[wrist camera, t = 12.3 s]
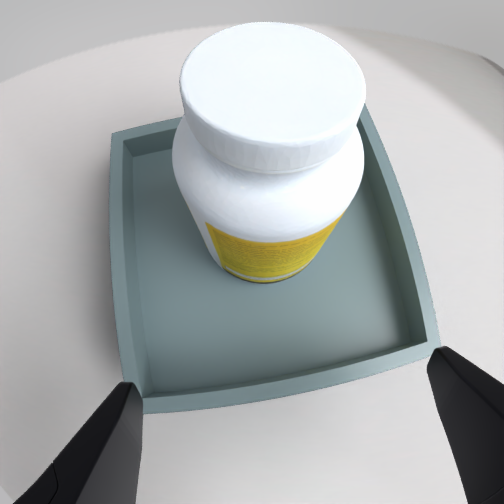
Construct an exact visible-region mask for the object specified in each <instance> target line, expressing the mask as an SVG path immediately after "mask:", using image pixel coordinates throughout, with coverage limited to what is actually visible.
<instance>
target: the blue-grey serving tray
mask: <svg viewBox="0 0 504 504" xmlns="http://www.w3.org/2000/svg"><path fill="white" fill-rule="evenodd" d="M181 119H182V117H180V118H175V119H170V120H165V121H161V122H156V123H152V124H147V125H143V126H139V127H135V128H131V129H127V130H123V131H119V132H116V133H112V137H111V154H110V180H109V232H110V259H111V276H112V289H113V301H114V311H115V321H116V330H117V338H118V345H119V353H120V359H121V366H122V372H123V378H124V382H133V383H134V384H135V385H136V387H137V389H138V391H139V393H140V395H141V397H142V400H143V414H155V413H169V412H181V411H192V410H201V409H210V408H218V407H226V406H233V405H240V404H246V403H252V402H258V401H264V400H270V399H275V398H280V397H286V396H291V395H295V394H300V393H305V392H309V391H314V390H318V389H322V388H327V387H331V386H335V385H339V384H342V383H346V382H350V381H354V380H357V379H361V378H365V377H368V376H371V375H375V374H378V373H382V372H385V371H388V370H391V369H394V368H397V367H401V366H404V365H407V364H410V363H412V362H415V361H418V360H421V359H424V358H427V357H429V356H431V355H432V353H433V351H434V349H435V348H438V347H441V342H440V336H439V331H438V325H437V320H436V315H435V310H434V306H433V301H432V297H431V292H430V288H429V284H428V280H427V276H426V272H425V268H424V264H423V260H422V257H421V253H420V249H419V246H418V242H417V239H416V236H415V232H414V229H413V226H412V223H411V220H410V216H409V213H408V210H407V207H406V204H405V201H404V198H403V196H402V193H401V190H400V187H399V184H398V182H397V179H396V176H395V174H394V171H393V168H392V166H391V163H390V161H389V158H388V156H387V153H386V151H385V148H384V146H383V143H382V141H381V139H380V136H379V134H378V132H377V129H376V127H375V125H374V123H373V120H372V118H371V116H370V114H369V112H368V109H367V107H366V105H365V103H364V106H363V108H362V111H361V113H360V116H359V119H358V122H357V124H356V126H357V129H358V131H359V134H360V137H361V140H362V144H363V150H364V170H363V175H362V179H361V182H360V185H359V188H358V190H357V192H356V194H355V196H354V198H353V199H352V201H351V203H350V204H349V206H348V207H347V209H346V211H345V212H344V214H343V215H342V217H341V218H340V220H339V221H338V223H337V224H336V226H335V227H334V229H333V230H332V232H331V233H330V235H329V236H328V238H327V239H326V241H325V242H324V244H323V245H322V247H321V248H320V250H319V251H318V253H317V254H316V256H315V257H314V259H313V260H312V261H311V263H310V264H309V265H308V266H307V267H306V268H305V269H303V270H302V271H301V272H300V273H298V274H297V275H295V276H293V277H292V278H289V279H287V280H284V281H282V282H278V283H272V284H254V283H249V282H245V281H242V280H240V279H238V278H236V277H234V276H232V275H230V274H229V273H227V272H226V271H225V270H223V269H222V268H221V267H220V266H219V265H218V264H217V262H216V261H215V260H214V259H213V257H212V256H211V254H210V252H209V251H208V249H207V246H206V244H205V242H204V239H203V237H202V235H201V233H200V231H199V228H198V226H197V224H196V222H195V220H194V218H193V216H192V214H191V212H190V210H189V208H188V206H187V204H186V202H185V199H184V197H183V195H182V193H181V191H180V188H179V186H178V184H177V181H176V178H175V174H174V170H173V164H172V148H173V141H174V136H175V133H176V130H177V127H178V125H179V123H180V121H181Z"/></svg>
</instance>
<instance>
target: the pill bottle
mask: <svg viewBox="0 0 504 504" xmlns="http://www.w3.org/2000/svg"><path fill="white" fill-rule="evenodd" d="M179 83H180V93H181V97H182V102H183V107H184V112H185V114H184V115H183V117H182V119H181V121H180V123H179V125H178V127H177V130H176V133H175V136H174V141H173V148H172V164H173V170H174V174H175V178H176V181H177V184H178V186H179V188H180V191H181V193H182V195H183V197H184V199H185V202H186V204H187V206H188V208H189V210H190V212H191V214H192V216H193V218H194V220H195V222H196V224H197V226H198V228H199V231H200V233H201V235H202V237H203V239H204V242H205V244H206V246H207V249H208V251H209V252H210V254H211V256H212V257H213V259H214V260H215V261H216V262H217V264H218V265H219V266H220V267H221V268H222V269H223V270H225V271H226V272H227V273H229V274H230V275H232V276H234V277H236V278H238V279H240V280H242V281H245V282H249V283H254V284H272V283H278V282H282V281H284V280H287V279H289V278H292V277H293V276H295V275H297V274H298V273H300V272H301V271H302V270H303V269H305V268H306V267H307V266H308V265H309V264H310V263H311V261H312V260H313V259H314V257H315V256H316V254H317V253H318V251H319V250H320V248H321V247H322V245H323V244H324V242H325V241H326V239H327V238H328V236H329V235H330V233H331V232H332V230H333V229H334V227H335V226H336V224H337V223H338V221H339V220H340V218H341V217H342V215H343V214H344V212H345V211H346V209H347V207H348V206H349V204H350V203H351V201H352V199H353V198H354V196H355V194H356V192H357V190H358V188H359V185H360V182H361V179H362V175H363V170H364V150H363V144H362V140H361V137H360V134H359V131H358V129H357V126H356V124H357V122H358V119H359V116H360V113H361V111H362V108H363V106H364V101H365V96H366V84H365V80H364V76H363V74H362V71H361V69H360V68H359V66H358V64H357V62H356V61H355V59H354V58H353V57H352V56H351V55H350V54H349V53H348V52H347V51H346V50H345V49H344V48H343V47H342V46H341V45H339V44H338V43H336V42H335V41H333V40H332V39H330V38H328V37H326V36H324V35H322V34H320V33H318V32H316V31H314V30H311V29H308V28H305V27H302V26H297V25H293V24H287V23H278V22H254V23H246V24H241V25H237V26H233V27H230V28H227V29H224V30H222V31H219V32H217V33H215V34H213V35H211V36H209V37H208V38H206V39H205V40H203V41H202V42H200V43H199V44H198V45H197V46H196V47H195V48H194V49H193V50H192V51H191V52H190V54H189V55H188V56H187V58H186V60H185V62H184V64H183V66H182V69H181V73H180V80H179Z"/></svg>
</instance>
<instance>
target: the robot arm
mask: <svg viewBox="0 0 504 504" xmlns="http://www.w3.org/2000/svg"><path fill="white" fill-rule="evenodd" d="M427 374H428V377H429V381H430V384H431V388H432V391H433V395H434V399H435V403H436V406H437V410H438V413H439V416H440V419H441V421H442V424H443V427H444V430H445V432H446V435H447V438H448V441H449V444H450V447H451V450H452V453H453V456H454V459H455V462H456V465H457V468H458V471H459V474H460V478H461V481H462V484H463V488H464V491H465V495H466V498H467V502H468V504H504V384H502V383H501V382H499V381H498V380H496V379H495V378H493V377H492V376H491V375H489V374H488V373H486V372H485V371H483V370H482V369H480V368H479V367H477V366H476V365H474V364H473V363H471V362H470V361H468V360H467V359H465V358H464V357H463V356H461V355H460V354H458V353H457V352H455V351H454V350H452V349H451V348H449V347H447V346H442V347H438V348H435V349H434V351H433V353H432V355H431V358H430V360H429V362H428V365H427ZM142 427H143V400H142V397H141V395H140V393H139V391H138V389H137V387H136V385H135V384H134V383H133V382H120V383H119V384H118V385H117V386H116V387H115V388H114V389H113V391H112V392H111V393H110V394H109V395H108V397H107V398H106V399H105V400H104V401H103V402H102V404H101V405H100V406H99V407H98V408H97V410H96V411H95V412H94V413H93V414H92V415H91V417H90V418H89V419H88V420H87V421H86V423H85V424H84V425H83V426H82V427H81V428H80V430H79V431H78V432H77V433H76V434H75V436H74V437H73V438H72V439H71V440H70V442H69V443H68V444H67V445H66V446H65V448H64V449H63V450H62V451H61V452H60V454H59V455H58V456H57V457H56V458H55V460H54V461H53V463H51V464H50V465H49V467H48V468H47V469H46V470H45V471H44V473H43V474H42V475H41V476H40V477H39V478H38V479H37V481H36V482H35V483H34V484H33V485H32V486H31V487H30V488H29V489H28V490H27V491H26V492H25V493H24V494H23V495H22V496H21V497H19V498H18V499H17V500H16V501H15V502H14V503H13V504H135V502H136V493H137V484H138V476H139V468H140V461H141V453H142Z"/></svg>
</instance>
